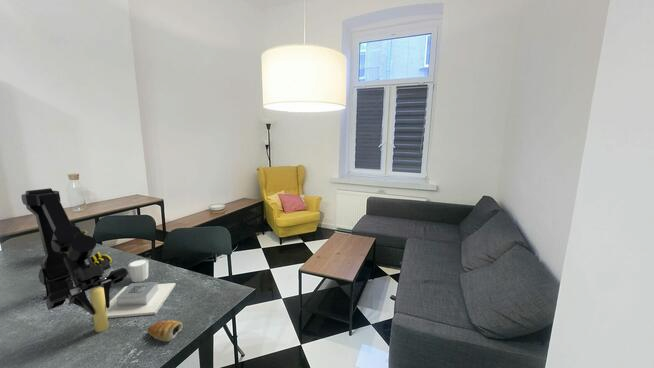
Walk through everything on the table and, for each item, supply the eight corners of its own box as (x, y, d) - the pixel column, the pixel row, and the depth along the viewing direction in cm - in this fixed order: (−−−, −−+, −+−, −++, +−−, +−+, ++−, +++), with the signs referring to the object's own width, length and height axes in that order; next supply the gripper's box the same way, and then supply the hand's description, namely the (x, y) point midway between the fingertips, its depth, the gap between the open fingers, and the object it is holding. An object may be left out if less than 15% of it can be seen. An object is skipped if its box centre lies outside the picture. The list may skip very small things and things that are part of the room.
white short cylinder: (139, 283, 107) (138, 267, 105) (125, 281, 108) (123, 265, 107) (153, 275, 113) (152, 260, 112) (140, 273, 114) (138, 258, 113)
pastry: (141, 339, 79) (140, 327, 78) (159, 323, 85) (158, 313, 84) (170, 344, 77) (169, 332, 76) (185, 327, 84) (185, 317, 83)
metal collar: (117, 307, 91) (116, 297, 90) (131, 292, 100) (130, 283, 99) (146, 304, 93) (146, 295, 92) (158, 290, 101) (157, 281, 101)
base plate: (94, 319, 86) (94, 317, 86) (125, 288, 103) (125, 286, 103) (155, 314, 89) (155, 311, 89) (175, 284, 107) (175, 283, 106)
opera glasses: (88, 265, 122) (84, 256, 120) (101, 259, 126) (98, 250, 124) (100, 270, 118) (96, 261, 116) (113, 263, 122) (109, 254, 120)
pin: (92, 332, 80) (87, 293, 78) (99, 325, 83) (94, 287, 81) (104, 331, 81) (99, 292, 78) (111, 324, 84) (106, 286, 82)
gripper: (42, 267, 72) (64, 318, 68) (122, 244, 88) (143, 284, 84) (37, 285, 77) (57, 333, 74) (113, 260, 93) (133, 299, 90)
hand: (101, 310), depth 80 cm, fingers closed on pin, 3 cm apart
